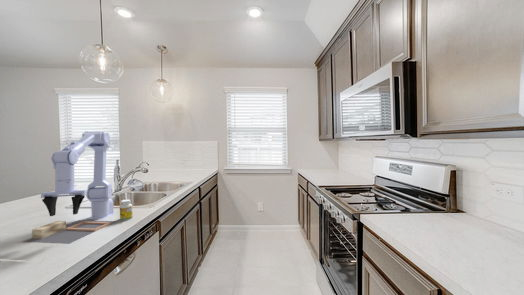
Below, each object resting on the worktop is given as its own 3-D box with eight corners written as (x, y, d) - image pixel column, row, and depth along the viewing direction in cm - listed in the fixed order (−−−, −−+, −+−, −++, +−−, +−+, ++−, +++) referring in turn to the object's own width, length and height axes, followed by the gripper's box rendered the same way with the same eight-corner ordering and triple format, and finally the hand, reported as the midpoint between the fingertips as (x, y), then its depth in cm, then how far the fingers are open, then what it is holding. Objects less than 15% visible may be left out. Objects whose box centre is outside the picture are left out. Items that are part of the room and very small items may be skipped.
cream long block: (57, 228, 102) (57, 220, 101) (66, 229, 101) (65, 221, 101) (32, 238, 92) (32, 229, 92) (42, 238, 91) (41, 229, 91)
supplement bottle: (134, 218, 115) (134, 199, 115) (124, 222, 110) (123, 202, 110) (128, 217, 118) (128, 198, 117) (117, 220, 113) (117, 201, 113)
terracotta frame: (83, 223, 108) (83, 221, 108) (110, 224, 107) (110, 222, 107) (65, 230, 100) (65, 228, 100) (95, 231, 98) (95, 229, 98)
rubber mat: (79, 221, 113) (79, 220, 113) (116, 222, 110) (116, 221, 110) (23, 242, 89) (23, 241, 89) (69, 244, 86) (69, 243, 86)
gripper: (35, 182, 86) (34, 218, 85) (80, 180, 89) (80, 215, 89) (47, 180, 93) (47, 214, 92) (89, 178, 96) (89, 211, 96)
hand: (64, 214), depth 91 cm, fingers open, 7 cm apart
